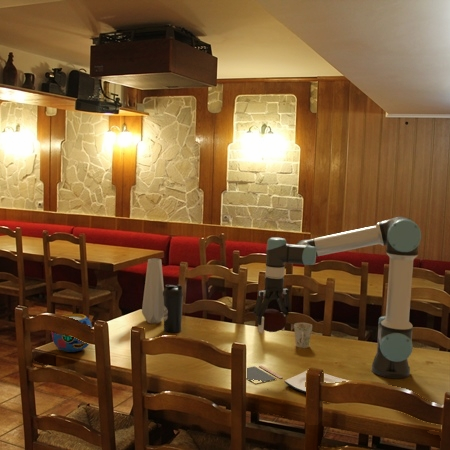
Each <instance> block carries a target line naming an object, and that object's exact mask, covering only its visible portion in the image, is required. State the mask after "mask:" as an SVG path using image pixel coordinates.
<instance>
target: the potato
mask: <svg viewBox="0 0 450 450" xmlns="http://www.w3.org/2000/svg"><path fill="white" fill-rule="evenodd" d="M262 317H264V330H263V331H265V332H269V333H276V332H280V331H282V329H283V328H284V327H285V328H286V325H287V318H285V316H284V315H283V314H282V312H281V310H277V309H275V308H268V309H267V308H266V310H265V312H264V314H263V316H262Z"/></svg>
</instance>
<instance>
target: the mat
mask: <svg viewBox="0 0 450 450" xmlns="http://www.w3.org/2000/svg"><path fill="white" fill-rule="evenodd" d="M246 368H247V379H249V380H253V379H254V380H258V381H260V380H261V381H262V382H263V383H265V382H264V381H268V382H271V381H270V380H273V381H276V380H277V377H275V376H274V375H273V376H272V374H270V373H269V374H268V372H267V371H265V370H264V371H263V369H261V368H259V367H256V366H250V367H246ZM247 379H246V380H247ZM275 379H276V380H275ZM249 380H248V381H249ZM254 380H253V381H254Z"/></svg>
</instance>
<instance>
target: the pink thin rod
mask: <svg viewBox="0 0 450 450" xmlns="http://www.w3.org/2000/svg"><path fill="white" fill-rule="evenodd" d="M258 366H259V367H258V368H260V367H261V368H260V369H261V370H263V369H264V371H265V370H266V371H265V372H267V371H268V372H267V373H269V374H270V375H272V374H273V376H274V375H275V376H274V377H275V378H278V379H279V378H280V380H281V378H282V379H283V378H284V376H281V375H279V374H278V373H276V372H274V371H272V370H270V369H269V368H267V367H265V366H263V365H258Z"/></svg>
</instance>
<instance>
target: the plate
mask: <svg viewBox="0 0 450 450" xmlns="http://www.w3.org/2000/svg"><path fill="white" fill-rule="evenodd" d="M306 373H307V370H305V371H303V372H301V373H299V374H296V375H295V376H292V377H289V378H287V379H285V380H284V383H285V384H286V385H287V386H289V387H291V388H293V390H294V389H295V390H296V391H299V392H302V393H304V394H307V393H306V387H305V382H306ZM323 373H324V372H323ZM347 380H348V379H344V378H341V377H337V376H333V375H331V374H327V373H326V372H325V373H324V382H326V383H335V382H342V381H347Z"/></svg>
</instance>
